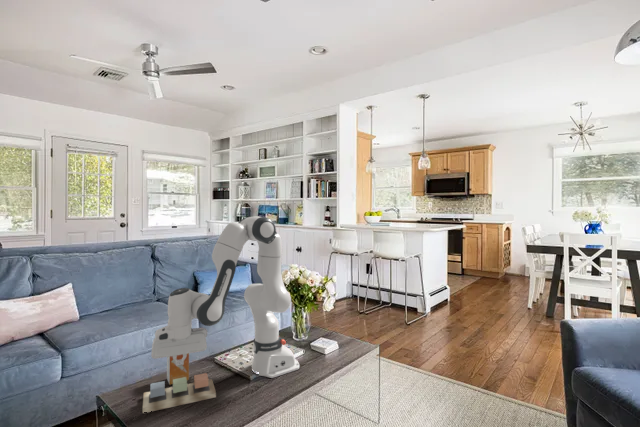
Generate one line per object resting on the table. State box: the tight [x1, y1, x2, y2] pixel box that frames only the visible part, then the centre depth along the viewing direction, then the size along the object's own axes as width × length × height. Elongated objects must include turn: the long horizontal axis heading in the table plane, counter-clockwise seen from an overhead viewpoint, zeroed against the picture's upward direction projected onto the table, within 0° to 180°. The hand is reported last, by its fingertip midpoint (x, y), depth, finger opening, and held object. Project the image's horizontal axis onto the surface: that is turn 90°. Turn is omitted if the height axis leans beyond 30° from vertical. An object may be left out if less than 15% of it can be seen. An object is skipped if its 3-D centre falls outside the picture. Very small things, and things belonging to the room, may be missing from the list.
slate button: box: [149, 380, 166, 398], centre depth 134 cm, size 5×5×3 cm
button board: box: [142, 378, 217, 414], centre depth 137 cm, size 26×11×2 cm, turn 115°
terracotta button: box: [193, 372, 209, 389], centre depth 140 cm, size 5×5×3 cm
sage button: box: [172, 377, 188, 393], centre depth 137 cm, size 5×5×3 cm
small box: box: [166, 353, 190, 385], centre depth 150 cm, size 8×6×13 cm
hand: (179, 364), depth 137 cm, fingers closed
